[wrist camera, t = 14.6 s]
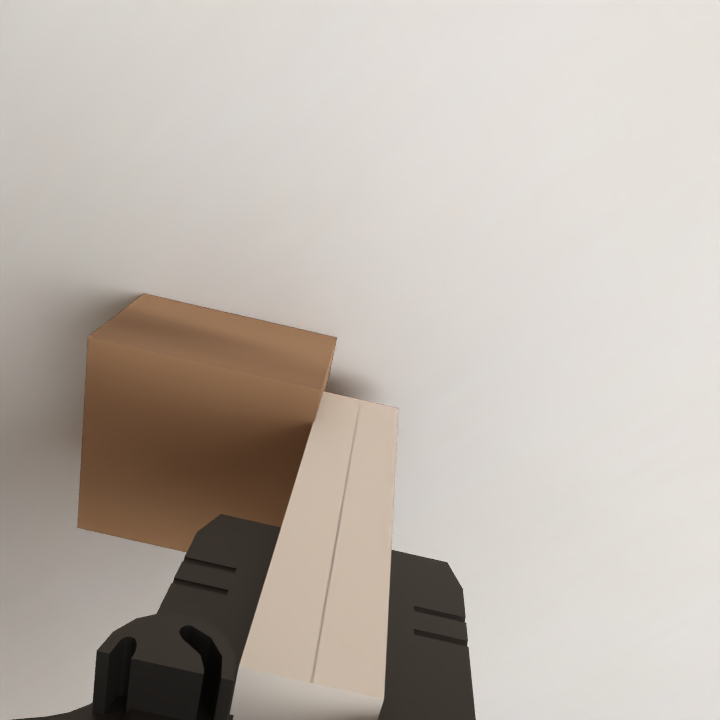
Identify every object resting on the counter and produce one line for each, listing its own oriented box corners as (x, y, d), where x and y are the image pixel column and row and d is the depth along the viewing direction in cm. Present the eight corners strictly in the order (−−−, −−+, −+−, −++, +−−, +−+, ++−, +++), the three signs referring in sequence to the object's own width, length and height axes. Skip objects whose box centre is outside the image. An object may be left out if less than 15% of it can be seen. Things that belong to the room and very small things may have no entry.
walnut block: (302, 498, 15) (282, 573, 13) (129, 459, 15) (77, 527, 13) (337, 337, 13) (321, 389, 11) (144, 293, 13) (88, 337, 11)
